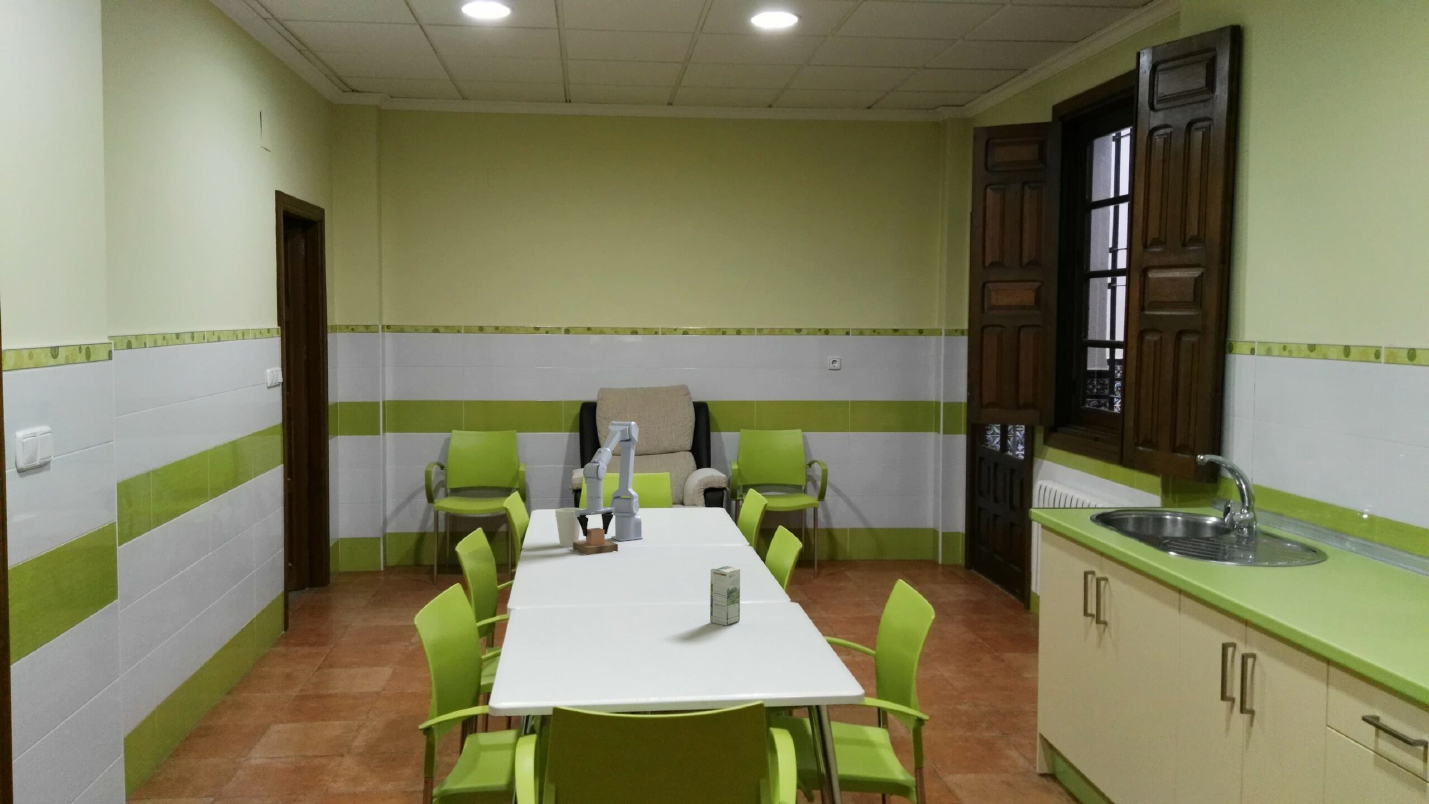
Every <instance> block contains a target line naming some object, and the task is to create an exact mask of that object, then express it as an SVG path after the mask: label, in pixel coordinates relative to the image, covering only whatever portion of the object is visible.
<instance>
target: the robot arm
mask: <svg viewBox="0 0 1429 804" xmlns="http://www.w3.org/2000/svg"><path fill="white" fill-rule="evenodd" d="M639 431H640V430H639V426H638V424H637V423H636V422H635V421H615V420H612V421H611V422H610V423H609V424H608V427H607V434H608V435H607V438H606V439H605V442H604V444H603V446H602V447H600V448H598V449H597V451H596V452H595V454H594V455H593V457H592V459H591V461H590V462H588V463H587V464H585V465H584V467H583V471H582V475H583V478H584V483H585V485H586V508H584V509H582V510H576V511H575V516H576V517H577V519H578V521H579V523H580V529H581V531H582V536H583V537H586V536H587V534H588V532H587V529H588V524H589V523H588V522H589V518H588V517H587V516H594V515H601V521H602V529H604V530H605V535H607V534H608V531H609V527H610V524H611V521H612V520H613V518H614V522H615V524H614V526H615V527H614V528H615V529H614V531H615V533H614V534H615V535H613V536H611V539H614V540H616V541H617V542H618V541H619V542H624V541H632V540H639V539H640V540H641V539H644V538H643V535H642V532H643V531H642V524H643V523H642V518H641V516H640V515H639V514H638V512H639V510H640V502H639V499H640V498H639V494H638V493H637V492H636V491H635V490H633V479H634V467H635V466H634V464H635V463H634V462H635V453H636V452H635V450H636V445H637V444H638V441H639ZM618 444H619V446H620V448H621V449H620V461H619V476H618V488H617V489H616V490H615V491H614V492H613V493H612V494H611V500H610V501H609V502H610V504H609V507H608V506H607V507H604V505H603V504H604V488H603V486H604V484H603V483H604V481H603V480H604V479H605V477H606V474H607V470H608V464H609V463H610V462H611V460H612V457H613V454H612V452H613V450H614V449H615V448H616V446H617V445H618Z"/></svg>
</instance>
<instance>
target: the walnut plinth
mask: <svg viewBox="0 0 1429 804" xmlns="http://www.w3.org/2000/svg"><path fill="white" fill-rule="evenodd" d="M618 545H619V544H618V543H615V542H613V541H611V540H607V539H605V544H599V545H590V544H587V543H586V540H580V541H578V542H573V547H572V549H573V550H574V551H576V550H577V552H579V553H581V554H584V555H585V554H586V556H588V555H590V554H591V555H598V554H606V553H614V552H613V551H616V552H619V546H618ZM591 555H590V556H591Z"/></svg>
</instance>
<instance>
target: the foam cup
mask: <svg viewBox="0 0 1429 804" xmlns="http://www.w3.org/2000/svg"><path fill="white" fill-rule="evenodd" d="M576 510H583V509H582V508H579V507H561V508H557V509H555V511H554V512H555V513H554V514H555V515H554V516H555V519H556V525H557V532H558V539H559V545H560V547H562V546H563V548H573V542H579V538H580V530H581V525H580V523H579V521H578V519H577V517H576V516H575V511H576Z"/></svg>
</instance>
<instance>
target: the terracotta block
mask: <svg viewBox="0 0 1429 804" xmlns="http://www.w3.org/2000/svg"><path fill="white" fill-rule="evenodd" d="M587 532H588V534H587V536H585V541H586V543H587V544H590V545H599V544H605V540H606V538H605V536H606V534H605V530H604V529H603V528H602V527H594V528H587Z"/></svg>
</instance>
